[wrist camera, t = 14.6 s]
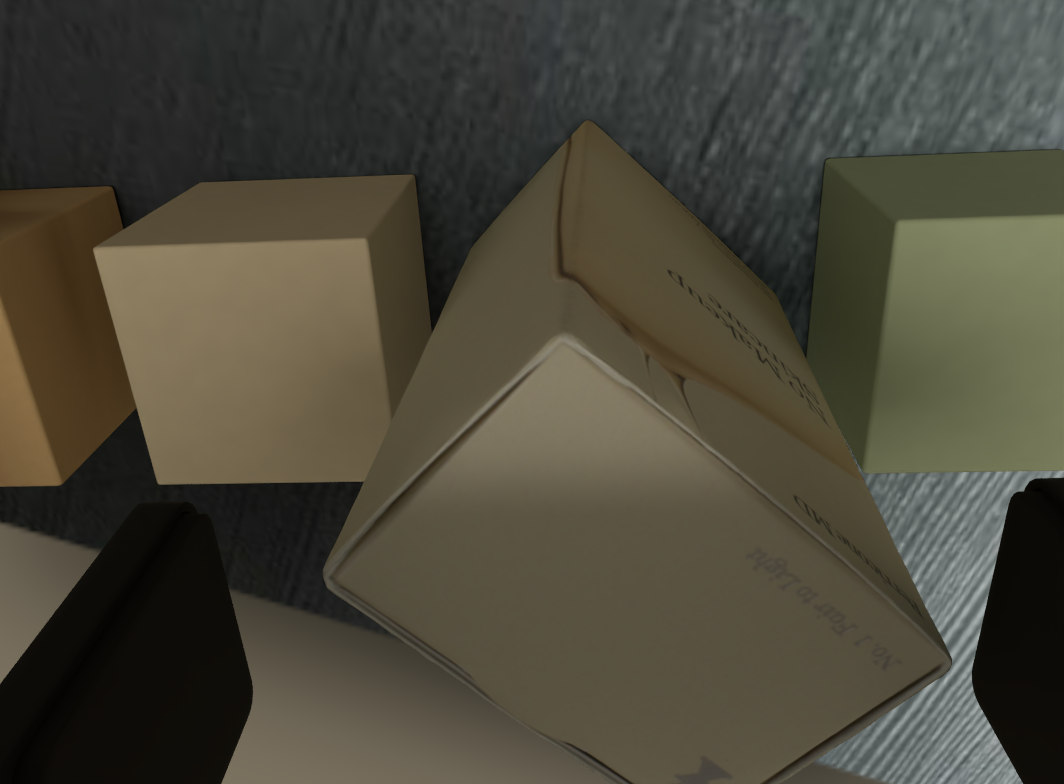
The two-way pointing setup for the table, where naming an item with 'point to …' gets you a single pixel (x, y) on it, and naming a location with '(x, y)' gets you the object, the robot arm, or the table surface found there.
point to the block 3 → (943, 310)
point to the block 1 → (56, 334)
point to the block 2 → (270, 325)
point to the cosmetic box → (633, 500)
